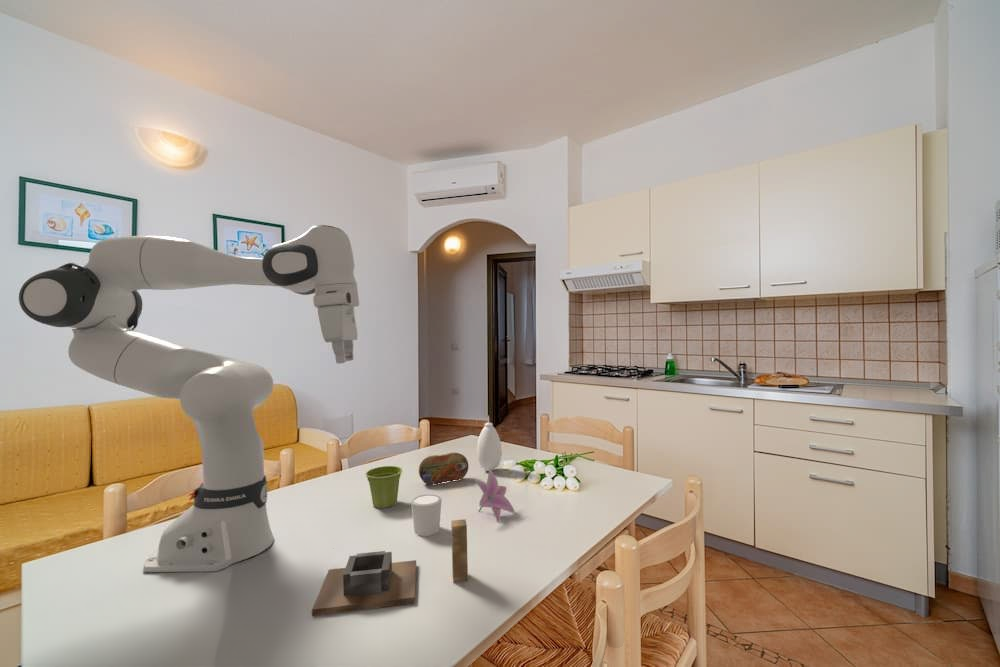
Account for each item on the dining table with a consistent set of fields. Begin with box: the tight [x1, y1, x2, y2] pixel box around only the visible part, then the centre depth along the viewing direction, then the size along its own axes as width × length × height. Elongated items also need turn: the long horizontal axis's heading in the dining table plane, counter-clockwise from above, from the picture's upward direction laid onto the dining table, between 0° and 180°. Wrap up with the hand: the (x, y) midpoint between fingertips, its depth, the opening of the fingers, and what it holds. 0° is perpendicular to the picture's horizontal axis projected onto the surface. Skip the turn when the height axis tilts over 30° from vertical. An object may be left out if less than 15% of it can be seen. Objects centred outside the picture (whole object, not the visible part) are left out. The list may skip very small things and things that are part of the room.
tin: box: [418, 452, 469, 486], centre depth 131 cm, size 15×3×8 cm, turn 114°
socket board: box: [311, 550, 417, 617], centre depth 76 cm, size 16×12×4 cm
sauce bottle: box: [476, 415, 503, 472], centre depth 140 cm, size 8×8×18 cm
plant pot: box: [365, 465, 403, 509], centre depth 114 cm, size 9×9×9 cm
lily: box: [474, 469, 516, 523], centre depth 107 cm, size 12×12×10 cm
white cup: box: [410, 493, 442, 537], centre depth 99 cm, size 7×7×7 cm
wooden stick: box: [450, 518, 469, 584], centre depth 79 cm, size 3×3×10 cm
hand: (345, 361), depth 96 cm, fingers open, 8 cm apart
